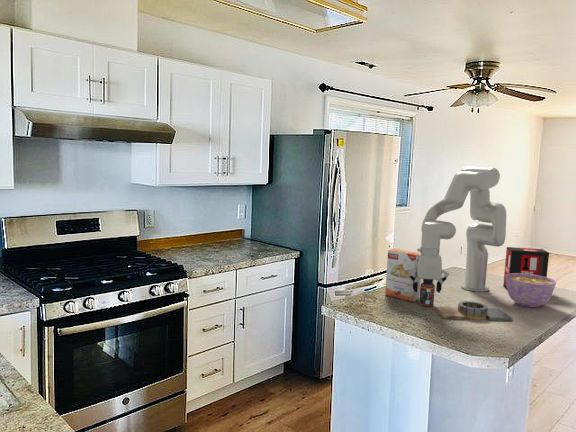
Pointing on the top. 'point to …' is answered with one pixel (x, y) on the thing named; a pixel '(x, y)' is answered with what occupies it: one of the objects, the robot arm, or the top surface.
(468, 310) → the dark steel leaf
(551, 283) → the bowl of food
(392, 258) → the cracker box
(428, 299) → the supplement bottle
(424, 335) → the top surface
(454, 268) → the top surface
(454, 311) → the tan board
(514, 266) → the cleaning product box
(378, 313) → the top surface
